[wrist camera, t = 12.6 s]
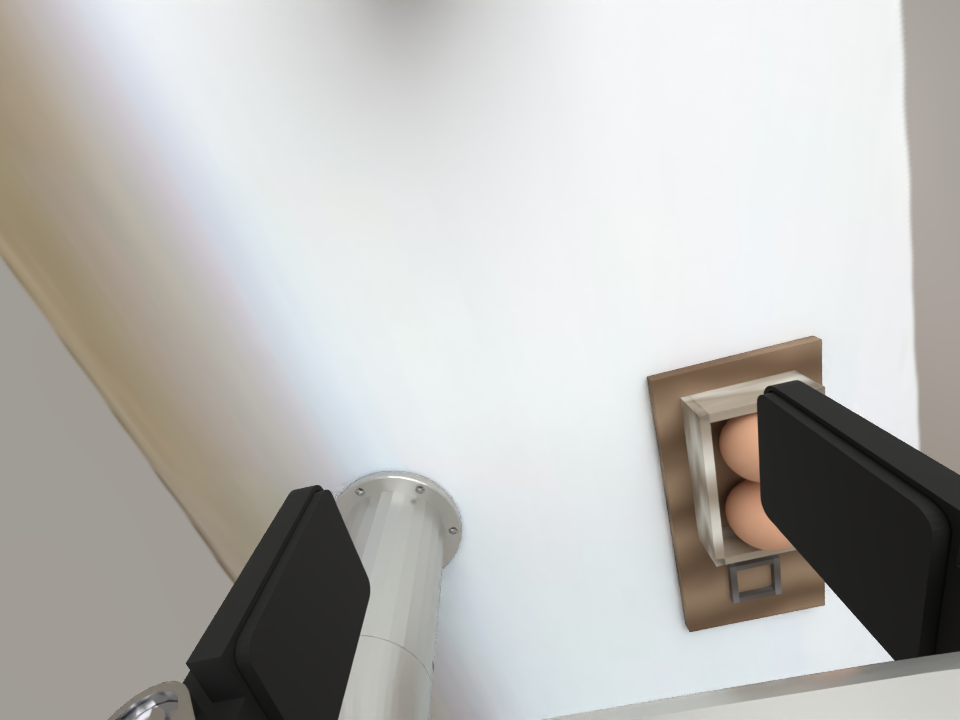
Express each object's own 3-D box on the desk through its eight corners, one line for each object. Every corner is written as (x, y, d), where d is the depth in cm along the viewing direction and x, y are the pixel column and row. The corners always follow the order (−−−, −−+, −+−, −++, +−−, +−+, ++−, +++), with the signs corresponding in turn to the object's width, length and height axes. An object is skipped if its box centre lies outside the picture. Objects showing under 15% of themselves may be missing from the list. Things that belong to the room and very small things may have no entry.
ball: (745, 466, 42) (787, 509, 36) (692, 440, 41) (727, 480, 35) (789, 414, 40) (841, 451, 34) (735, 385, 39) (779, 418, 33)
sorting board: (818, 597, 49) (850, 635, 44) (685, 623, 50) (705, 664, 46) (813, 335, 39) (854, 353, 34) (647, 376, 40) (667, 398, 35)
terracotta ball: (749, 527, 44) (789, 576, 39) (699, 503, 43) (732, 550, 38) (792, 480, 42) (840, 525, 37) (740, 454, 41) (782, 496, 36)
